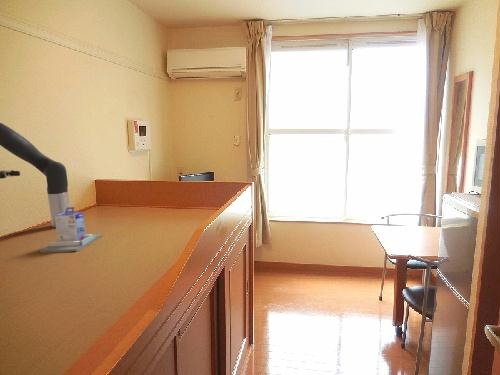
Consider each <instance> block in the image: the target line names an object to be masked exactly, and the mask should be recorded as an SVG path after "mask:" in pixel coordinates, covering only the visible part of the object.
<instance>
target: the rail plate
mask: <svg viewBox="0 0 500 375" xmlns="http://www.w3.org/2000/svg"><path fill="white" fill-rule="evenodd" d="M101 236H102V237H103V234H95V233H92V234H91V233H90V234H86V238H85V239H83V240H81V241H61V242H58V241H49V242H48V246H46V247H44V248H42V249H40V250H39V252H40V253H41V254H42V253H47V254H48V253H68V252H69V253H72V252H71V251H77V252H78V250H79V251H80V250H82V249H84V248H85V247H88V244H89V245H90V244H92V243H93V241H94V242H95V241H97V240H98V238H99V237H100V238H102V237H101ZM100 238H99V239H100ZM96 239H97V240H96ZM91 242H92V243H91ZM83 247H84V248H83Z"/></svg>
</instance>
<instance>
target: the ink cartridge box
mask: <svg viewBox="0 0 500 375" xmlns="http://www.w3.org/2000/svg"><path fill="white" fill-rule="evenodd" d="M68 209H71V211H67V210H68ZM55 221H56V227H55V228H56V229H55V230H56V237H57V238H56V239H57V242H61V241H81V240H83V239H85V238H86V235H87V234H86V226H85V218H84V212H83V211H82V212H81V211H80V212H79V211H78V212H76V211H75V207H73V206H71V207H67V208H66V212H65V213H60V214H57V215H55Z"/></svg>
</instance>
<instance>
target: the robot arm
mask: <svg viewBox="0 0 500 375" xmlns="http://www.w3.org/2000/svg"><path fill="white" fill-rule="evenodd" d="M0 146H1V147H2V148H4V149H5V150H6V151H7V152H9V153H11V154H12V155H14V156H16V157H18V158H19V159H21V160H22V161H24V162H26V163H28V164H30V165H31V166H33V167H35V168H36V169H37V170H38V171H39V172H41V173H42V174H43V175H44V176H45V177H46V186H47V187H46V191H47V200H48V205H49V213H50V218H51V219H50V220H51V225H52V226H51V227H52V228H56V221H55V215H57V214H60V213H65V212H66V208H67V207H72V206H71V204H70V199H69V191H68V190H69V189H68V186H69V182H68V173H67V168H66V167H65V165H64V164H63V163H61V162H59V161H56V160H53V159H52V158H50V157H48V156H46V155H45V154H43V153H42V152H41V151H39V149H38V148H36V146H35V145H34V144H33V143H31V141H30V140H28V139H27V138H26V137H24V136H23V135H21V134H20V133H18V132H16V130H14V129H13V128H11V127H9V126H8V125H6V124H4V123H2V122H1V123H0ZM20 176H21V172H20V170H13V169H12V170H3V169H2V170H0V179H7V178H8V177H9V178H10V177H20ZM67 211H72V209H68V210H67Z"/></svg>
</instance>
